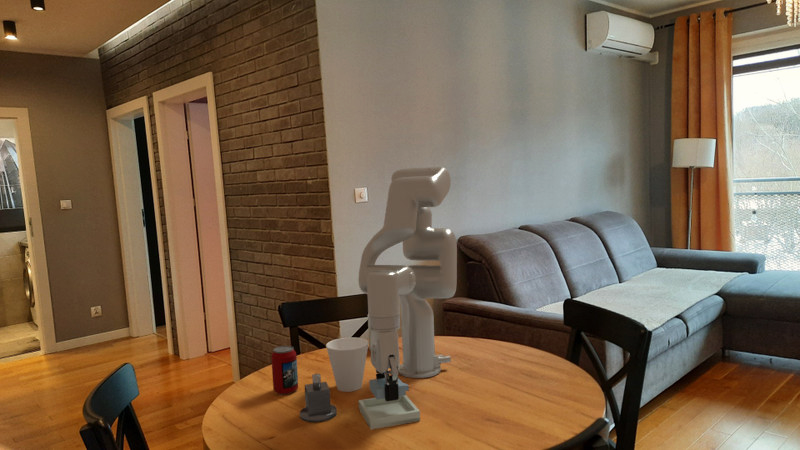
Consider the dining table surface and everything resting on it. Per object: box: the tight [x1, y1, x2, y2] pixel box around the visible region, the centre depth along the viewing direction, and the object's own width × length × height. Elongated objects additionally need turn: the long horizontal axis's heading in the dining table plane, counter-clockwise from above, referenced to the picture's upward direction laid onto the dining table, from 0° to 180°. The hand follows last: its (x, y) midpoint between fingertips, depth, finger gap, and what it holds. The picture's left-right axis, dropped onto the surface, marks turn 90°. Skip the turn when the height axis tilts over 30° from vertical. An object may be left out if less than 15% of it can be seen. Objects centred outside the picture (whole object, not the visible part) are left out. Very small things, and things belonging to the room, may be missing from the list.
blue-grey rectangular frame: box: [369, 377, 410, 400], centre depth 134 cm, size 7×9×2 cm
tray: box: [358, 394, 421, 430], centre depth 134 cm, size 12×12×2 cm
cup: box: [325, 337, 369, 393], centre depth 153 cm, size 12×12×12 cm
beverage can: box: [271, 345, 299, 396], centre depth 152 cm, size 7×7×12 cm
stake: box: [299, 373, 338, 424], centre depth 136 cm, size 9×9×10 cm
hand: (387, 394), depth 134 cm, fingers closed on blue-grey rectangular frame, 7 cm apart
